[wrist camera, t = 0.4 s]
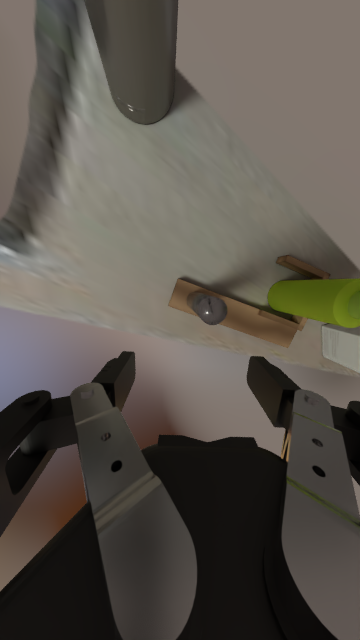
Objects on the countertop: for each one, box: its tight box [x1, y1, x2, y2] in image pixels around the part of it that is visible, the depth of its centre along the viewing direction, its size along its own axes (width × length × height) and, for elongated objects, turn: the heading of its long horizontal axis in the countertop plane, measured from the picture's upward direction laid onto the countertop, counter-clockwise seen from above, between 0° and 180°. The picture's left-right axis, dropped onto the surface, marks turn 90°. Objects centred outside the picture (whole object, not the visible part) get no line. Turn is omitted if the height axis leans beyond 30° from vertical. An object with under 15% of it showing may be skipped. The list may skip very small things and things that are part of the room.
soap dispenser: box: [268, 279, 360, 328], centre depth 23 cm, size 6×7×20 cm
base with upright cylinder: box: [169, 255, 330, 348], centre depth 25 cm, size 15×25×14 cm, turn 70°
